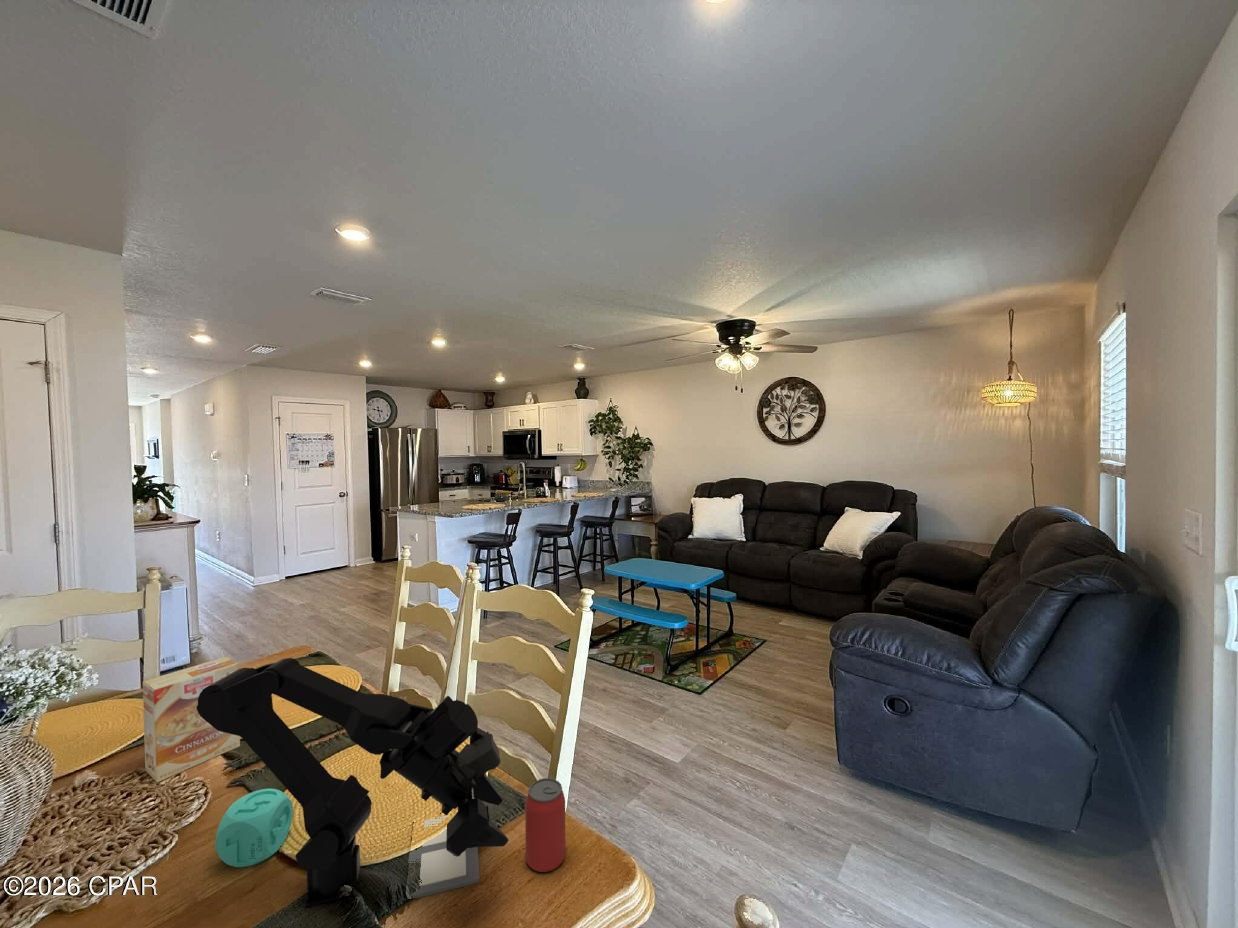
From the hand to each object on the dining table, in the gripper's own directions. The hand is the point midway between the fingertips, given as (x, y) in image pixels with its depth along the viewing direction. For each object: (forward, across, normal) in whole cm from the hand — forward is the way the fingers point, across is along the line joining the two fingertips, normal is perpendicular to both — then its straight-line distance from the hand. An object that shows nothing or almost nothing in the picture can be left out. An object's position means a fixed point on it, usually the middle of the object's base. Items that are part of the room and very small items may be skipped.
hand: (503, 821), depth 83 cm
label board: (-1, +7, +12) cm, 14 cm away
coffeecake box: (-37, +50, +50) cm, 80 cm away
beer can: (+11, 0, +1) cm, 11 cm away
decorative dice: (-22, +17, +34) cm, 44 cm away
